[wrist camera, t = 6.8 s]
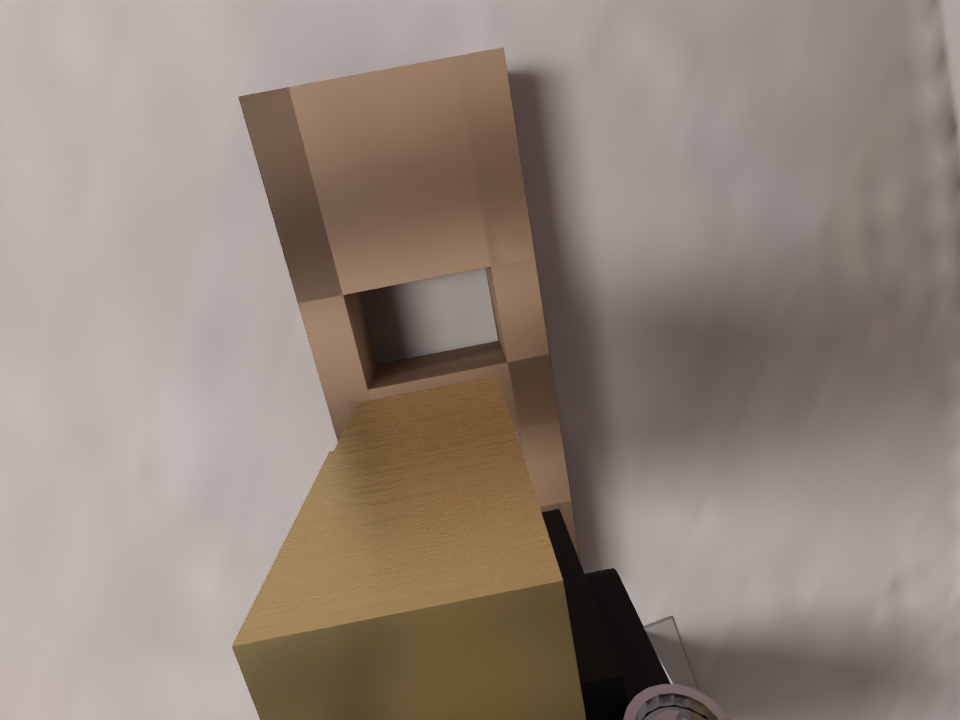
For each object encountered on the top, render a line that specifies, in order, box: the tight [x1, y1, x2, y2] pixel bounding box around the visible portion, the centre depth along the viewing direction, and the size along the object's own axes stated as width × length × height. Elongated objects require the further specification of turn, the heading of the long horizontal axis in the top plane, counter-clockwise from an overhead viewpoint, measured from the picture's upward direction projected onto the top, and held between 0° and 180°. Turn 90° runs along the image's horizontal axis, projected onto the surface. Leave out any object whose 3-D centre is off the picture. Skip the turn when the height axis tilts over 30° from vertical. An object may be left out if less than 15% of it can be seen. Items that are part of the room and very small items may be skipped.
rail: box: [239, 48, 580, 561], centre depth 20 cm, size 22×8×3 cm, turn 10°
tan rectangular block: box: [232, 376, 586, 720], centre depth 9 cm, size 8×3×7 cm, turn 10°
